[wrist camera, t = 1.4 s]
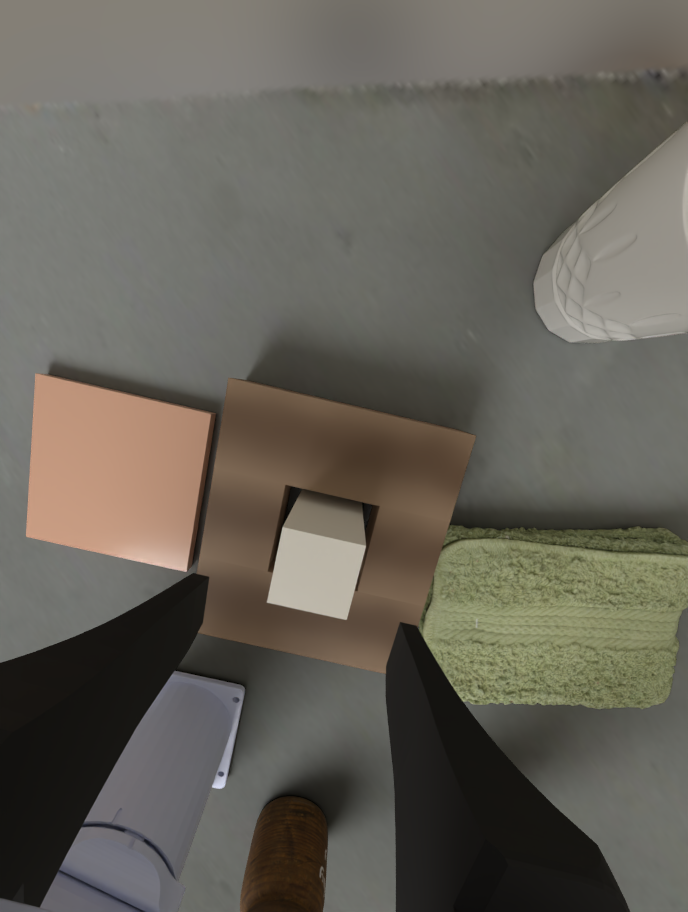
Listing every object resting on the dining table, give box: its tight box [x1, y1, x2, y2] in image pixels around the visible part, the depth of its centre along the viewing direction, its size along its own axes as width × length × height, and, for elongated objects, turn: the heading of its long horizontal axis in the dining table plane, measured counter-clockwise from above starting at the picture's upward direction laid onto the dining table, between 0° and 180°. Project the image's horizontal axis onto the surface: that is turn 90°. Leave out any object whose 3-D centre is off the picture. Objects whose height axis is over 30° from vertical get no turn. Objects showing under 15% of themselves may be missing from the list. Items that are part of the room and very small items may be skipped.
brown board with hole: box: [197, 378, 476, 674], centre depth 21 cm, size 16×14×3 cm
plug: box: [267, 489, 366, 620], centre depth 20 cm, size 4×4×7 cm
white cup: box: [533, 121, 688, 343], centre depth 15 cm, size 8×8×10 cm
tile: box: [26, 373, 216, 572], centre depth 22 cm, size 11×11×1 cm
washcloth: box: [419, 525, 688, 709], centre depth 23 cm, size 13×18×3 cm
